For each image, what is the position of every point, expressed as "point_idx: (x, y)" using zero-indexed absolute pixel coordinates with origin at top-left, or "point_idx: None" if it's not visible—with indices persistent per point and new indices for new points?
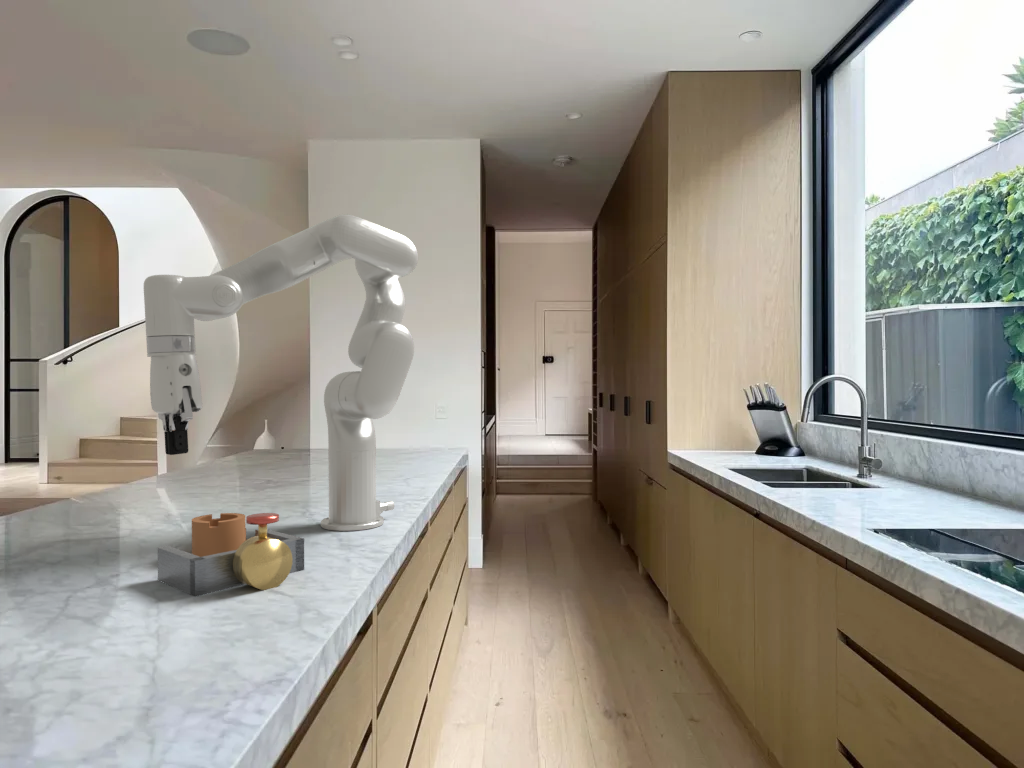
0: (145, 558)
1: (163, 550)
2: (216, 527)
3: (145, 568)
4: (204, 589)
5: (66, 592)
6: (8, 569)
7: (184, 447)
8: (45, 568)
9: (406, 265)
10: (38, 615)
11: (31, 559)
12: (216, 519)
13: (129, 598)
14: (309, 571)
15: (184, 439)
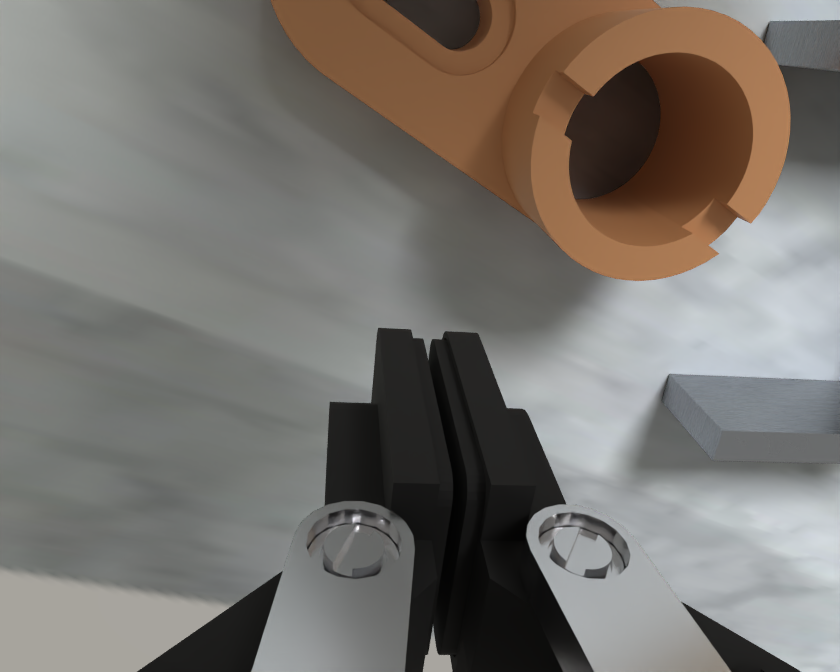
0: (348, 301)
1: (755, 460)
2: (731, 222)
3: (488, 360)
4: None
5: None
6: (136, 590)
7: (519, 410)
8: (213, 531)
9: None
10: None
11: (33, 525)
12: (568, 108)
13: (726, 498)
14: None
15: (544, 462)
